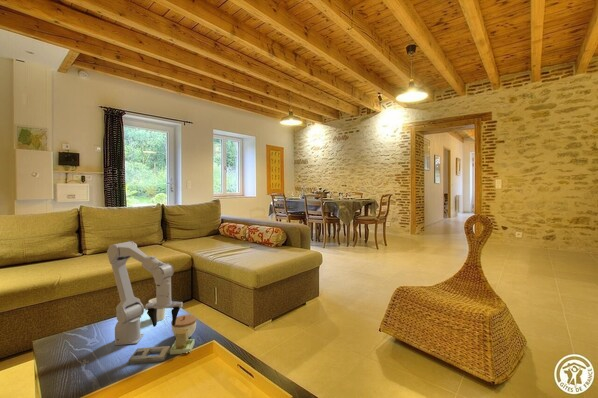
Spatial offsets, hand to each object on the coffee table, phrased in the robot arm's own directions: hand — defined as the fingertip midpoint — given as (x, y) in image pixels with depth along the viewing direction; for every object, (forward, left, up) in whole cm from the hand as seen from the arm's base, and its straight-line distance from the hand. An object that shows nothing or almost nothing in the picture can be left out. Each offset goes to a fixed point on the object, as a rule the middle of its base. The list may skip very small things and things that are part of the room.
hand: (164, 325), depth 124 cm
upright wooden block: (+7, -2, -10) cm, 12 cm away
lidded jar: (+5, +10, -10) cm, 15 cm away
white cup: (-13, +31, -10) cm, 35 cm away
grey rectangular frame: (-4, -5, -10) cm, 12 cm away
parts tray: (+8, -1, -10) cm, 13 cm away
